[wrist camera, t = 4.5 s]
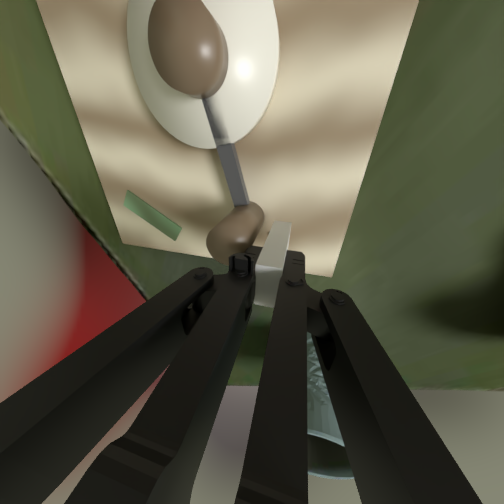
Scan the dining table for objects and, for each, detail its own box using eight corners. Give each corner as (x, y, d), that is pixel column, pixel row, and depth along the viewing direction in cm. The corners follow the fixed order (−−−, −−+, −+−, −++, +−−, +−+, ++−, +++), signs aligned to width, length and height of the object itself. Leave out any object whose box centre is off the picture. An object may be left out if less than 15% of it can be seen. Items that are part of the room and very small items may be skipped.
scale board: (37, -75, 13) (-7, -110, 11) (457, -167, 9) (500, -251, 7) (134, 236, 25) (121, 244, 24) (329, 266, 21) (331, 278, 19)
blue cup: (272, 357, 32) (257, 457, 22) (272, 314, 27) (253, 419, 17) (337, 370, 29) (354, 489, 19) (351, 326, 24) (384, 456, 14)
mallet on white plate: (113, -1, 12) (-18, -99, 7) (258, -114, 9) (202, -431, 4) (208, 238, 20) (176, 271, 15) (305, 223, 17) (306, 257, 12)
